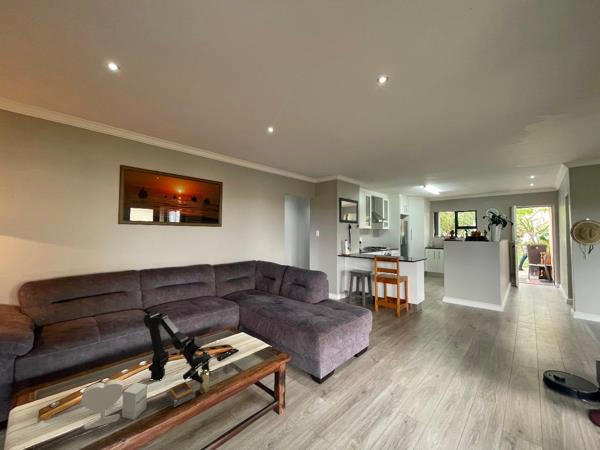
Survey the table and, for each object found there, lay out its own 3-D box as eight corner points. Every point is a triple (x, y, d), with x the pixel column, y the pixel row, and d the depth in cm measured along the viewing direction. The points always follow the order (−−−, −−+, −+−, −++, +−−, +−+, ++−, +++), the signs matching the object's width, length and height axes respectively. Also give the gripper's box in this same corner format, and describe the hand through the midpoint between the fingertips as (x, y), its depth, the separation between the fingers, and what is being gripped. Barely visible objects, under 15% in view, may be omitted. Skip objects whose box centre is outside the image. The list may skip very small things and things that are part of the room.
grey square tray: (174, 408, 128) (174, 398, 128) (166, 397, 136) (166, 388, 136) (195, 397, 136) (195, 388, 136) (186, 388, 144) (187, 379, 144)
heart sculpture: (123, 412, 124) (124, 376, 124) (121, 419, 120) (123, 382, 119) (83, 422, 117) (84, 384, 117) (79, 431, 112) (81, 391, 112)
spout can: (197, 392, 141) (198, 370, 141) (203, 386, 146) (203, 366, 146) (205, 394, 139) (206, 373, 139) (211, 388, 144) (212, 368, 144)
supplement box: (134, 420, 120) (135, 394, 120) (121, 417, 121) (122, 391, 121) (146, 408, 127) (147, 384, 127) (134, 406, 128) (135, 381, 128)
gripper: (188, 356, 134) (204, 381, 132) (209, 341, 152) (224, 362, 149) (175, 368, 137) (191, 392, 134) (198, 351, 155) (213, 372, 152)
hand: (206, 379), depth 142 cm, fingers open, 7 cm apart
